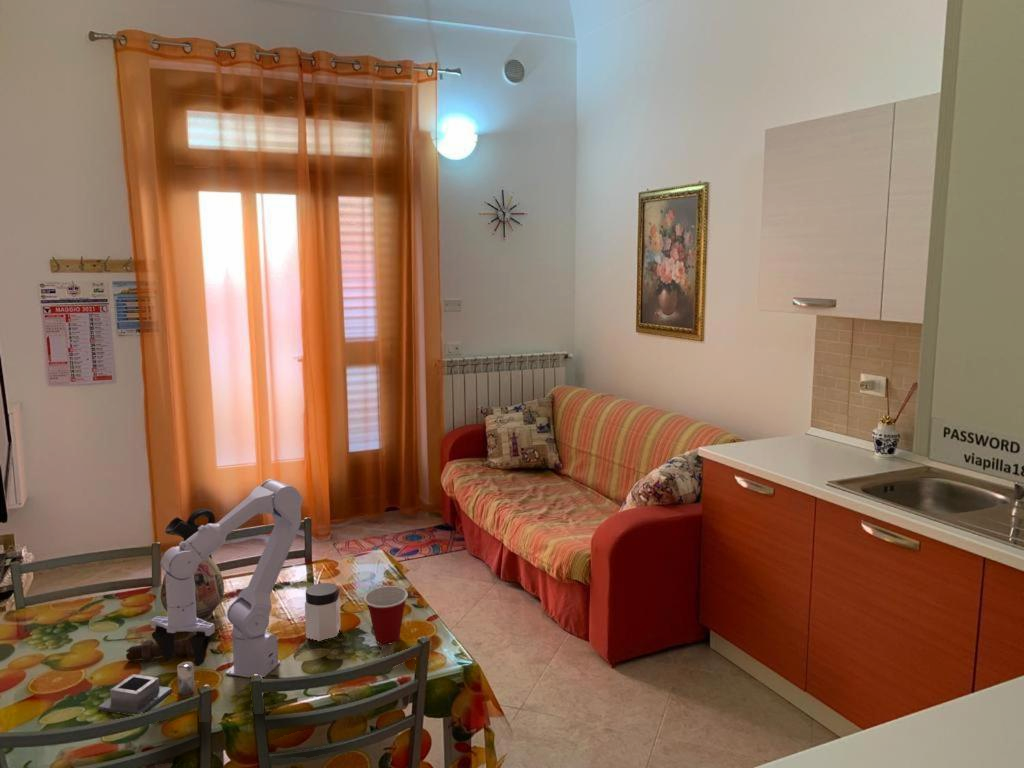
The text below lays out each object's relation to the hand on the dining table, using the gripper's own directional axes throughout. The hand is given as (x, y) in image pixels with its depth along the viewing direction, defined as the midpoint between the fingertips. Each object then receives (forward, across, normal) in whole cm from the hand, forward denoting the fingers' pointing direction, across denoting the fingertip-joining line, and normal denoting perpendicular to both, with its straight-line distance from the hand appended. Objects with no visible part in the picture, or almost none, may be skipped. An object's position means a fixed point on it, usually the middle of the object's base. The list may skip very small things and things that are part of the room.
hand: (184, 661), depth 164 cm
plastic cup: (+7, +33, +33) cm, 47 cm away
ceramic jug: (+7, -21, +32) cm, 39 cm away
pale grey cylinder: (+7, 0, 0) cm, 7 cm away
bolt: (+7, -15, +12) cm, 20 cm away
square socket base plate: (+7, -8, -6) cm, 12 cm away
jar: (+7, +16, +32) cm, 37 cm away
